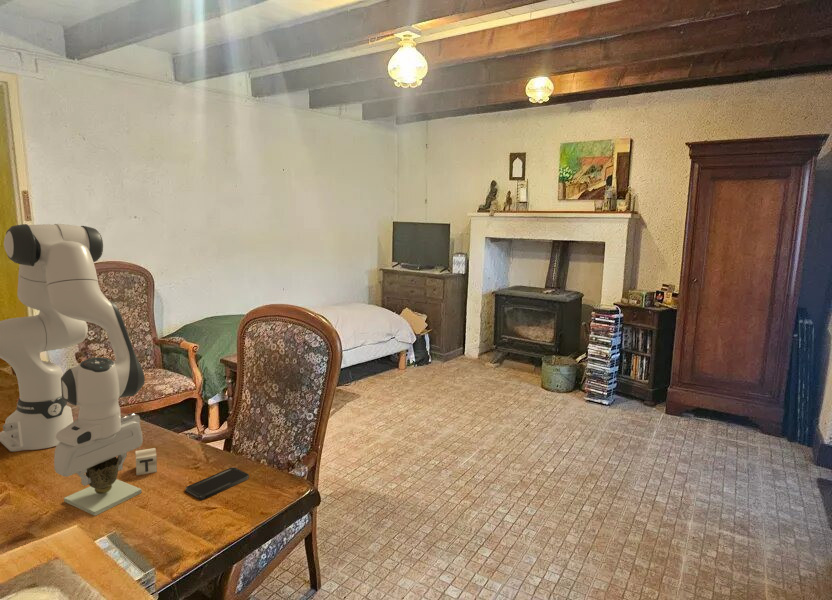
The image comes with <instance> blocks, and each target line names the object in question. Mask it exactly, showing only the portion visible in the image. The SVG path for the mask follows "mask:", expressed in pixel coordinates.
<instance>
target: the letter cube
mask: <svg viewBox="0 0 832 600" xmlns="http://www.w3.org/2000/svg"><path fill="white" fill-rule="evenodd" d="M157 458H158V457H157V450H156V447H152V448H147V449H140V450H135V471H136V474H135V475H136V476H141V475H147V474H153V473H157V472H158V460H157Z"/></svg>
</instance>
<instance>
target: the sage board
mask: <svg viewBox="0 0 832 600" xmlns="http://www.w3.org/2000/svg"><path fill="white" fill-rule="evenodd" d="M140 494H142V488H140V487H138V486H134V485H133V484H129V483H127V482H125V481H122V480H120V479H116V481H115V482H114V483H113V484H112V488H111V490H110V491H109V492H107V493H103V494H98V493H96V492H95V488H93V487H91V486H90V485H89V486H87V487H86V488H83V489H81V490H78V491H76V492H73V493H72V494H70V495H68V496H65V497H63V500H64V503H67V504H68V505H71V506H73V507H74V508H77V509H79V510H80V511H81V510H82V511H83V512H86V513H88V514H90V515H92V516H94V517H96V516H98V515H100V514H102V513H104V512H106V511H108V510H109V509H112V508H114V507H116V506H118V505H120V504H122V503H123V502H125V501H128V500H130V499H131V498H135V497H136V496H139V495H140Z"/></svg>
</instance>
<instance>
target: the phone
mask: <svg viewBox="0 0 832 600" xmlns="http://www.w3.org/2000/svg"><path fill="white" fill-rule="evenodd" d="M249 475H250V474H248V473H247V472H245V471H243V470H241V469H238V468H237V467H235V466H234V467H229V468H227V469H223V470H222V471H220V472H218V473H215V474H212V475H211V476H208V477H206V478H203V479H201V480H199V481H197V482H194V483H192V484H189V485H188V486H186V487H185V492H186V493H187V494H189V495H191V496H192V497H194V498H195V499H198V500H201V501H203V500H206V499H209V498H210V497H212V496H215V495H217V494H219V493H221V492H224V491H225V490H227V489H231V488H232V487H234V486H236V485H238V484H241V483H243V482H245V481H247V480H248V479H250V476H249Z"/></svg>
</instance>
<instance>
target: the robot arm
mask: <svg viewBox="0 0 832 600" xmlns="http://www.w3.org/2000/svg"><path fill="white" fill-rule="evenodd" d="M3 247H4V251H5V253H6V255H7V257H8V259H9V260H10V261H11V262H13V263H14V264H19V266H18V279H17V280H18V281H17V293H16V294H17V298H18V300H19V301H20V303H22V304H23V305H24V306H26V307H29V308H30V309H33V310H37V311H39V313H38V314H37V315H31V316H22V317H21V316H20V317H14V318H13V317H12V318H6V319H3V320H0V359H1V360H3V361H5V362H6V363H7V364H8V365H9V366H10V367H12V369H13V371H14V374H15V375H16V378H17V379H16V380H17V384H18V385H17V386H18V392H19V397H16V402H17V403H16V409H15V411H13V412H12V413H11V414H10V415H9V416H7V417H6V418H5V423H4V424H3V425H2V431H0V443H1V444H2V445H3V446H4V447H5V448H6V449H7V450H8V451H9V452H19V451H21V452H22V451H31V450H32V451H33V450H35V451H36V450H41V449H42V450H43V449H48V448H52V447H55V448H54V449H55V450H54V459H53V461H54V463H53V465H54V466H53V467H54V472H55V473H56V474H58V475H60V476H62V477H66V478H68V477H70V476H73V475H75V474H77V476H79V477H80V479H81V482H80V483H81V485H82V486H85V487H86V486H88V485H89V484H90V483H92V482H91V477H88V476H86V473H87V468H90V467H92V466H95V465H97V464H100V463H102V462H104V461H107V460H109V459H112V458H114V457H116V458H119V467H118V472H119V471H123V470H124V468H123V467H124V465H123V464H124V463H125V460H126V458H127V453H128V452H131V451H133V450H136V449H139V448H140V447H141V446H142V445H143V441H144V440H143V432H142V429H141V417H140V415H138V414H135V413H129V414H128V415H125V416H122V415H121V412H122V411H121V406H120V404H119V399H120V398H129V397H134V396H135V395H136V394H137V393H138V392H139V391H140V390H141V389H142V388H143V386H144V385H145V380H146V379H145V373H144V370H143V368H142V365H141V362H139V361H140V360H139V359H138V356H137V355H136V353H135V350H134V346H133V343H132V341H131V338H130V335H129V333H128V330H127V327H126V325H125V322H124V319H123V317H122V315H121V312H120V309H119V308H118V306H117V303H115V302H114V301H112V300H109V299H108V298H107V297H106V296H105V294H104V293H103V292H102V290H101V288H100V285H99V279H98V274H97V270H96V265H95V262H97V261H99V259H100V258H101V257H102V255H103V254H104V253H103V252H104V241H103V236H102V235H101V233H100V232H99V231H98V230H97V229H96V228H95V227H91V226H86V225H80V226H78V225H73V224H61V223H60V224H59V223H54V224H49V223H48V224H29V225H28V224H26V223H24V224H23V223H22V224H16V225H12V226H10V227H9V228H8V229H7V230H6V232H5V236H4V239H3ZM88 323H91V324H94V325H96V326H98V327H100V328H102V329H103V330H104V331H105V332H106V334H107V338H108V340H109V342H110V345H111V349H112V351H113V354H114V356H115V360H112V359H111V358H108V357H107V358H106V357H91V358H90V357H89V358H87V359H84V360H83V361H81V362H80V363H79V364H78V365H76V366H74V367H70V368H68V369H67V370H66V371H65V372H64V370H63V369H62V367H61V366H59V365H58V364H56V363H53V362H50V361H46V360H42V358H41V353H45V352H51V351H55V350H63V349H67V348H71V347H74V346H76V345H79V344H82V343H83V342H84V341H85V340H86V339H87V336H88V332H89V327H88ZM68 404H71V405H72V406H76V407H77V406H78V407H79V410H78V415H77V417H78V418H77V419H75V420H74V418H73V411H72V408H71V406H69V405H68Z"/></svg>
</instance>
